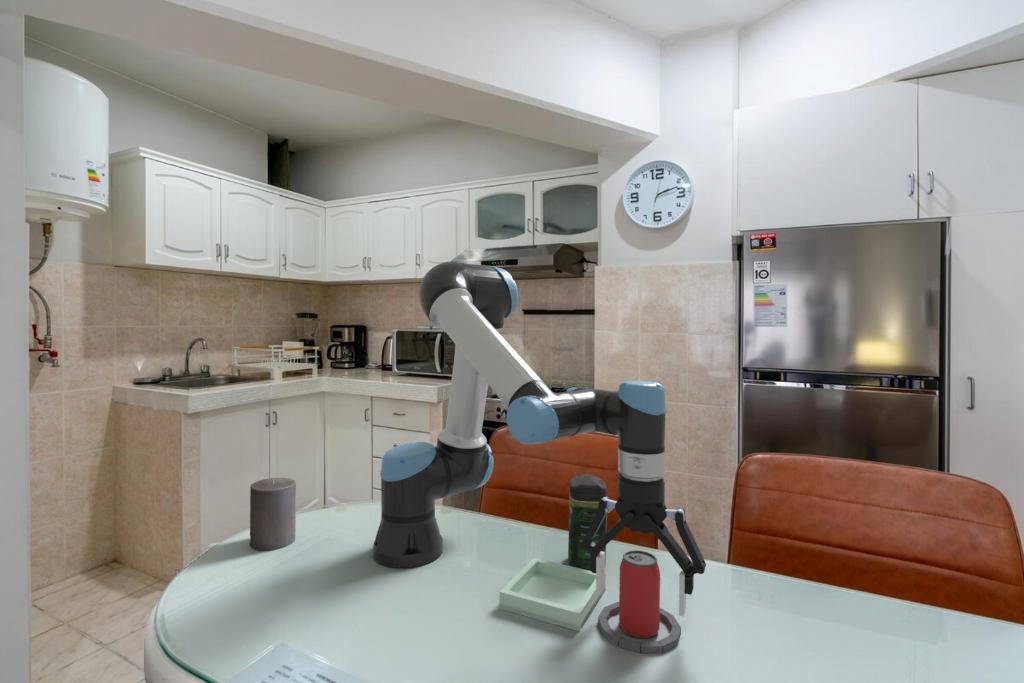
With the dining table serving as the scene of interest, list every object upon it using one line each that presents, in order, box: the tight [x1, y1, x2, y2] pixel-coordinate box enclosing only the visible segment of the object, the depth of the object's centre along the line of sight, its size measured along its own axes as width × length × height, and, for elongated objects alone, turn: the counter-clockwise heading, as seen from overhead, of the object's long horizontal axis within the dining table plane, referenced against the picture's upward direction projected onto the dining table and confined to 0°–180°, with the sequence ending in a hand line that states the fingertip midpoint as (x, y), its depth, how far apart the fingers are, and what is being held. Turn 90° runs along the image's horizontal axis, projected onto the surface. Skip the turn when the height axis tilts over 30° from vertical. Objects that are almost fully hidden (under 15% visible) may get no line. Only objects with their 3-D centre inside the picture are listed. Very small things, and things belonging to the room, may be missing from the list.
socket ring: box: [597, 601, 682, 654], centre depth 85 cm, size 13×13×1 cm
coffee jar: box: [567, 473, 608, 571], centre depth 108 cm, size 10×8×19 cm
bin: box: [499, 557, 607, 632], centre depth 94 cm, size 15×15×3 cm
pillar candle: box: [249, 477, 297, 552], centre depth 118 cm, size 10×10×15 cm
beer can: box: [618, 549, 661, 639], centre depth 85 cm, size 7×7×12 cm
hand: (640, 601), depth 85 cm, fingers open, 13 cm apart
